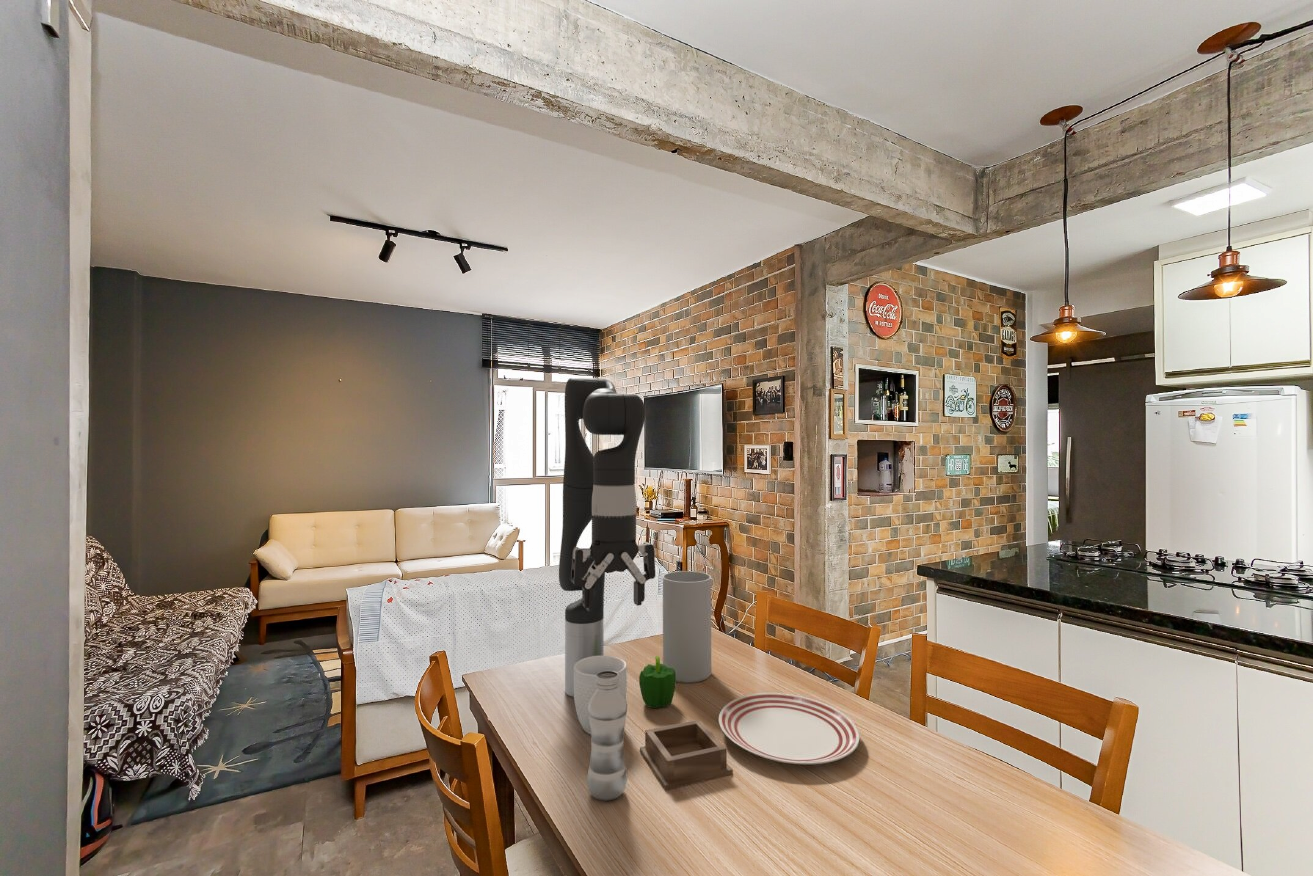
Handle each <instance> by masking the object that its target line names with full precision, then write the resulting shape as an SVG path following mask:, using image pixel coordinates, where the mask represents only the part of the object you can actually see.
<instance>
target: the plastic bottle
mask: <svg viewBox="0 0 1313 876" xmlns="http://www.w3.org/2000/svg"><path fill="white" fill-rule="evenodd" d="M618 686H619V677H618V673H617V672H615V671H601V672H599V673H597V676H596V687H597V688H598V689H597V690H596V692H595V693H594V695H593V696H592V698H591V700H590V703H589V706H588V712H589V719H590V727H591V734H590V739H591V741H590V742H591V744H590V746H591V747H590V758H589V767H588V771H587V778H586V781H587V789H588V792H589V793H590V794H591V796H592V797H593V798H595V799H597V800H599V801H612V800H615V799H617V798H619V797H620V796H621V795H622V794H623V793H624V791H625V789H626V786H627V780H628V774H627V767H626V763H625V749H624V748H625V747H624V740H625V739H624V738H625V725H626V719H627V711H628V703H627V698H626V699H625V697H624V696H623V694H622V693H621V692H620V690H619V689H618Z"/></svg>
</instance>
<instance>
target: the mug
mask: <svg viewBox="0 0 1313 876" xmlns="http://www.w3.org/2000/svg"><path fill="white" fill-rule="evenodd" d="M601 671H615V672H617V673H618V677H619V686H618V689H619V690H620V692H621V693H622V694H623V696H624V697H625V699H626V700H627V688H628V687H627V686H628V685H627V684H628V681H627V680H628V675H627V663H626V661H625V660H623V659H622V658H619V657H617V656H612V655H604V656H592V657H587V658H584V659H581V660H579V661H578V662H576V663H575V665H574V697H573V699H574V705H575V712H576V714H577V719H578V722H579V724H580V725H581V727H582V729H583V731H585V732H586V733H587V734H588V735H591V727H590V719H589V712H588V706H589V703H590V700H591V698H592V696H593V695H594V693H595V692H596V690H597V689H598V688H597V687H596V676H597V673H599V672H601Z"/></svg>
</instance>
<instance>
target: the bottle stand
mask: <svg viewBox="0 0 1313 876" xmlns="http://www.w3.org/2000/svg"><path fill="white" fill-rule="evenodd" d="M644 734H645V737H644V738H645V739H644V740H645V741H644V743H645V745H644V746H641V747H639V752H640V754H641V756H642V757H643V759H644V760H645V761H646V762H645V763H647V764H648V766H649V768H650V769H651V771H652V772H653V773H654V776H655V777H656V778H657V780H658V781H659V783H660V785H661V786H662V788H663V789H664V790H665V791H669V790H672V789H676V788H681V787H684V786H689V785H693V784H697V783H702V782H705V781H709V780H714V779H718V778H722V777H727V776H730V775H731V776H733V774H734V771H733V768H732V767H731V765H729V764H728V760H727V757H728V756H727V752H728V751H727V746H725V745H724V744H723V742H721V741H720V740H719V738H717V737H716V735H714V733H712V732H711V730H710V729H709V728H708V727H707V726H706V725H705V724H704V723H703V722H702V721H701V719H697V720H696V719H695V720H690V721H686V722H681V723H676V724H671V725H664V726H660V727H655V728H649V729H646V730H645V731H644Z"/></svg>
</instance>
